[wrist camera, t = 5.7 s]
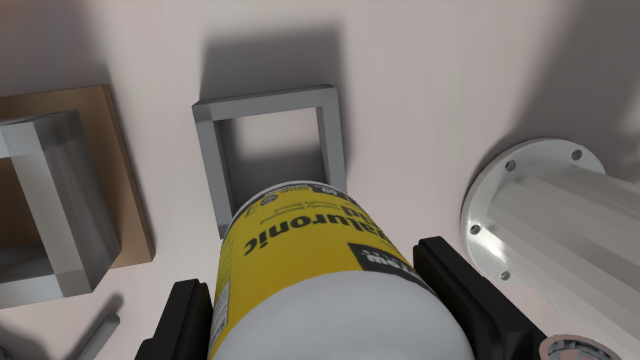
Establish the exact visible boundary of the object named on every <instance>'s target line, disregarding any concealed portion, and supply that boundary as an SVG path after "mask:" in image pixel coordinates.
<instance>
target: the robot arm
mask: <svg viewBox="0 0 640 360" xmlns="http://www.w3.org/2000/svg"><path fill="white" fill-rule="evenodd" d="M460 232H461V239H462V244H463V247H464V249H465V252H466V254H467V256H468V257H469V259H470V260H471V262H472V263H473V264H474V265H475V266H476V267H477V268H478V269H479V270H480V271H481V272H482V273H483V274H484V275H486V276H487V277H489V278H490V279H492V280H493V281H496V282H498V283H500V284H504V285H510V286H529V287H530V288H531V289H533V290H534V291H535V292H536V293H537V294H539V295H540V296H541V297H542V298H544V299H545V300H546V301H547V302H548V303H550V304H551V305H552V306H553V307H554V308H556V309H557V310H558V311H559V312H561V313H562V314H563V315H564V316H565V317H567V318H568V319H569V320H570V321H571V322H573V323H574V324H575V325H576V326H577V327H579V328H580V329H581V330H582V331H584V332H585V333H586V334H587V335H588V336H590V337H591V338H592V339H593V340H592V339H588V338H585V337H582V336H577V335H569V334H562V335H554V336H551V337H547V336H546V335H545V334H544V333H543V332H542V331H541V330H540V329H539V328H538V327H537V326H536V325H534V324H533V323H532V322H531V321H530V320H529V319H528V318H527V317H526V316H525V315H524V314H523V313H522V312H521V311H520V310H519V309H518V308H517V307H516V306H515V305H514V304H513V303H512V302H511V301H510V300H508V299H507V298H506V297H505V296H504V295H503V294H502V293H501V292H500V291H499V290H498V289H497V288H496V287H495V286H494V285H493V284H492V283H491V282H490V281H489V280H488V279H486V278H485V277H482V276H481V275H480V274H479V273H478V272H477V271H476V270H475V269H474V268H473V267H472V266H471V265H470V264H469V263H468V262H467V261H466V260H465V259H464V258H463V257H462V256H461V255H460V254H459V253H457V252H456V251H455V250H454V249H453V248H452V247H451V246H450V245H449V244H448V243H447V242H446V241H445V240H444V239H443V238H442V237H441V236H436V237H430V238H425V239H420V240H419V243H418V245H415V246H414V247H413V264H414V270H415V271H416V272H417V273H418V274H419V275H420V277H421V278H422V279H423V280H424V282H425V283H426V284H427V285H428V286H429V287H430V288H431V289H432V290H433V291H434V292H435V293H436V295H437V296H438V297H439V298H440V300H441V301H442V302H443V304H444V305H445V306H446V308H447V309H448V310H449V312H450V313H451V314H452V316H453V317H454V318H455V320H456V321H457V323H458V324H459V325H460V327H461V328H462V330H463V332H464V333H465V335H466V337H467V339H468V341H469V343H470V346H471V348H472V351H473V354H474V357H475V360H640V186H639V185H636V184H633V183H630V182H627V181H624V180H620V179H617V178H614V177H611V176H608V175H607V174H606V172H605V169H604V167H603V165H602V163H601V162H600V161H599V160H598V158H597V157H596V156H595V155H594V154H593V153H592V152H591V151H589V150H588V149H587V148H585V147H584V146H581V145H579V144H576V143H574V142H571V141H567V140H563V139H559V138H539V139H532V140H528V141H526V142H523V143H520V144H517V145H515V146H513V147H511V148H510V149H508V150H506V151H504V152H503V153H501V154H500V155H499V156H497V157H496V158H495V159H494V160H493V161H491V162H490V163H489V164H488V165H487V166H486V167H485V169H484V170H483V171H482V172H481V173H480V174H479V175H478V177H477V179H476V180H475V182H474V183H473V185H472V186H471V188H470V190H469V192H468V195H467V197H466V199H465V202H464V205H463V209H462V214H461V223H460ZM212 316H213V307H212V303H211V298H210V294H209V290H208V286H207V284H206V283H200V282H199V280H198V279H191V280H185V281H180V282H175V283H174V285H173V288H172V290H171V293H170V295H169V298H168V301H167V303H166V306H165V308H164V311H163V313H162V316H161V318H160V321H159V323H158V326H157V328H156V331H155V334H154V336H153V338H150V339H146V340H144V341H143V342H142V344H141V345H140V348H139V350H138V352H137V355H136V357H135V359H134V360H207V354H208V348H209V340H210V331H211V324H212Z"/></svg>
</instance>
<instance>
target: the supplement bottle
mask: <svg viewBox="0 0 640 360" xmlns="http://www.w3.org/2000/svg"><path fill="white" fill-rule="evenodd" d="M207 360H475V357H474V354H473V351H472V348H471V346H470V343H469V341H468V339H467V337H466V335H465V333H464V332H463V330H462V328H461V327H460V325H459V324H458V323H457V321H456V320H455V318H454V317H453V316H452V314H451V313H450V312H449V310H448V309H447V308H446V306H445V305H444V304H443V302H442V301H441V300H440V298H439V297H438V296H437V295H436V293H435V292H434V291H433V290H432V289H431V288H430V287H429V286H428V285H427V284H426V283H425V282H424V280H423V279H422V278H421V277H420V275H419V274H418V273H417V272H416V271H415V270H414V268H413V267H412V266H411V265H410V264H409V263H408V262H407V260H406V259H405V258H404V257H403V256H402V255H401V253H400V252H399V251H398V250H397V248H396V247H395V246H394V245H393V244H392V243H391V241H390V240H389V239H388V238H387V237H386V236H385V234H384V233H383V232H382V231H381V229H380V228H379V227H378V226H377V225H376V224H375V223H374V222H373V220H372V219H371V218H370V217H369V215H368V214H367V213H366V212H365V211H364V210H363V209H362V208H361V207H360V206H359V205H358V204H357V203H356V202H355V201H354V200H353V199H352V198H351V197H350V196H348V195H347V194H345V193H344V192H342V191H341V190H339V189H337V188H335V187H333V186H330V185H327V184H323V183H320V182H314V181H290V182H285V183H281V184H278V185H275V186H272V187H270V188H267V189H265V190H263V191H261V192H260V193H258V194H256V195H255V196H254V197H252V198H251V199H250V200H249V201H247V202H246V203H245V204H244V205H243V206H242V207H241V208H240V210H239V211H238V212H237V213H236V215H235V216H234V218H233V219H232V221H231V223H230V225H229V227H228V229H227V231H226V234H225V237H224V240H223V243H222V247H221V253H220V260H219V268H218V276H217V284H216V292H215V300H214V308H213V316H212V324H211V331H210V340H209V348H208V354H207Z"/></svg>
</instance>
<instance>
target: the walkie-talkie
mask: <svg viewBox="0 0 640 360" xmlns="http://www.w3.org/2000/svg"><path fill="white" fill-rule="evenodd" d="M119 324H120V318H119V316H118V315H116V314H110V315H108V316H107V317H106V318H105V320H104V321H103V323H102V324H101V325H100V327H99V328H98V330H97V331H96V332H95V334H94V335H93V336H92V338H91V339H90V341H89V342H88V343H87V345H86V346H85V348H84V349H83V350H82V352H81V353H80V354H79V356H78V357H77V359H76V360H93V359H94V358H95V357H96V355H97V354H98V353H99V351H100V350H101V348H102V347H103V346H104V344H105V343H106V342H107V340H108V339H109V337H110V336H111V335H112V333H113V332H114V331H115V329H116V328H117V326H118V325H119ZM4 354H5V353H4V351H3V350H2V349H1V348H0V360H13V359H10V358H8V357H5V356H4Z"/></svg>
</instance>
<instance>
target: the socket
mask: <svg viewBox="0 0 640 360" xmlns="http://www.w3.org/2000/svg"><path fill="white" fill-rule="evenodd" d="M154 257H155V251H154V248H153V244H152V241H151V237H150V233H149V230H148V226H147V223H146V219H145V216H144V212H143V208H142V205H141V201H140V198H139V194H138V191H137V187H136V183H135V180H134V176H133V173H132V169H131V166H130V162H129V158H128V155H127V151H126V148H125V144H124V140H123V137H122V133H121V130H120V126H119V123H118V119H117V115H116V112H115V108H114V105H113V101H112V98H111V94H110V90H109V87H108V85H99V86H91V87H83V88H75V89H66V90H58V91H50V92H42V93H33V94H25V95H17V96H9V97H0V309H5V308H10V307H16V306H21V305H27V304H32V303H38V302H43V301H49V300H54V299H60V298H65V297H71V296H76V295H82V294H88V293H92V292H93V291H94V289H95V288H96V287H97V285H98V284H99V282H100V281H101V280H102V278H103V277H104V275H105V274H106V272H107V271H108V270H109V269H113V268H119V267H124V266H130V265H136V264H141V263H147V262H152V261H153V259H154Z"/></svg>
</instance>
